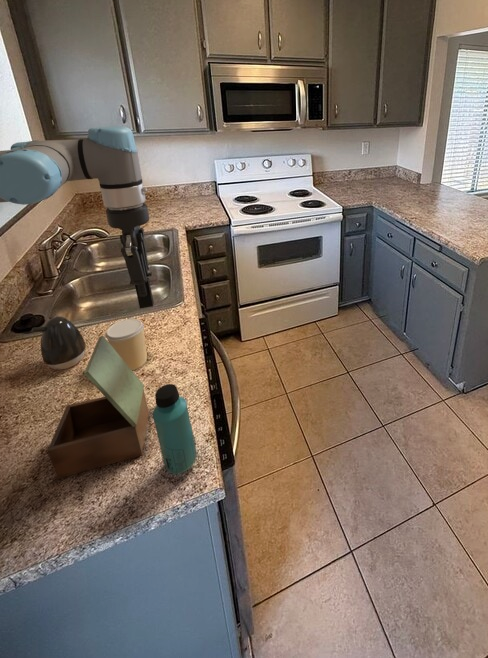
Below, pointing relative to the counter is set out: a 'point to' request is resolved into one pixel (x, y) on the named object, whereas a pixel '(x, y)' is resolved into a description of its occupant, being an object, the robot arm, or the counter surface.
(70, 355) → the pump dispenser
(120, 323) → the coffee cup
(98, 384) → the lid
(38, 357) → the counter surface
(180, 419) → the beverage bottle
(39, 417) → the counter surface
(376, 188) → the counter surface
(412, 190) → the counter surface
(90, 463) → the brown wooden box
